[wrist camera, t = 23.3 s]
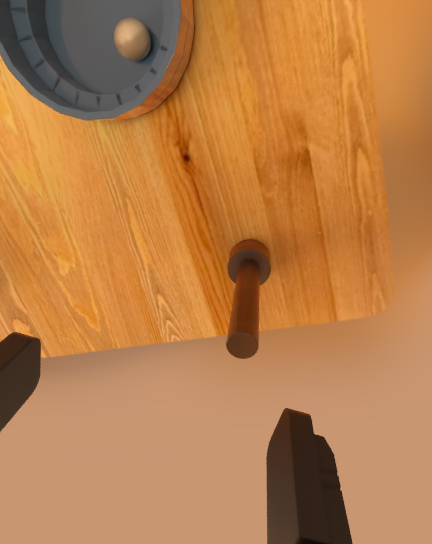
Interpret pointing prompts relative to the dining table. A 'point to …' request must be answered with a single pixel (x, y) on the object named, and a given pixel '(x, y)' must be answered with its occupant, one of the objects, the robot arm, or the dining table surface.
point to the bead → (132, 39)
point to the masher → (246, 296)
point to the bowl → (95, 54)
